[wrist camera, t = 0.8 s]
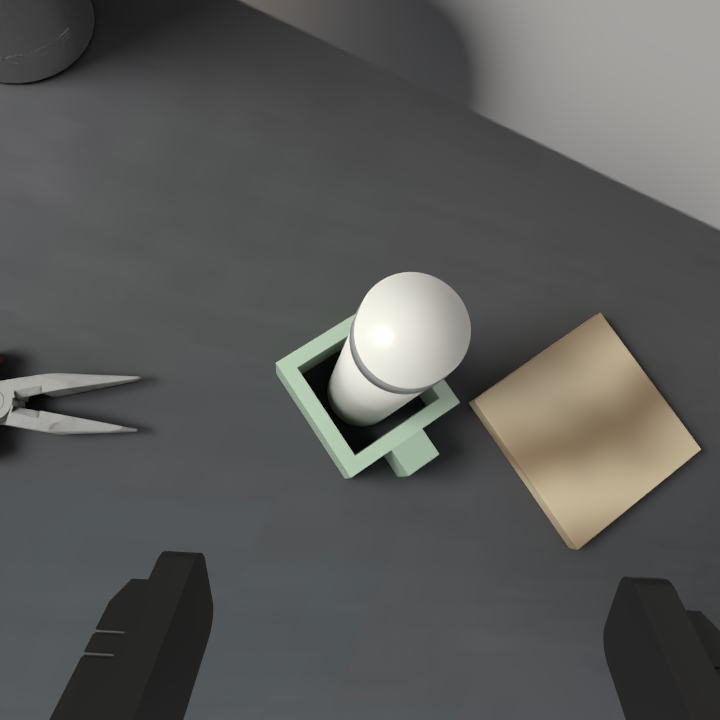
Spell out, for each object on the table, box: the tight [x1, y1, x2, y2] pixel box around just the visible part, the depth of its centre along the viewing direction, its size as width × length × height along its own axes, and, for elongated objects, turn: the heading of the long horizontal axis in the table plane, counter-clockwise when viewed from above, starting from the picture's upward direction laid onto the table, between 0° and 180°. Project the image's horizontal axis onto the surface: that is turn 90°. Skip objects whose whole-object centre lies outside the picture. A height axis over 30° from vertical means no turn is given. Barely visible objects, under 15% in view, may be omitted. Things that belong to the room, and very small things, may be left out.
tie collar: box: [276, 314, 460, 479], centre depth 32 cm, size 9×7×3 cm
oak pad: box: [469, 313, 701, 550], centre depth 34 cm, size 10×10×1 cm
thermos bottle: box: [327, 272, 471, 427], centre depth 27 cm, size 4×4×14 cm
